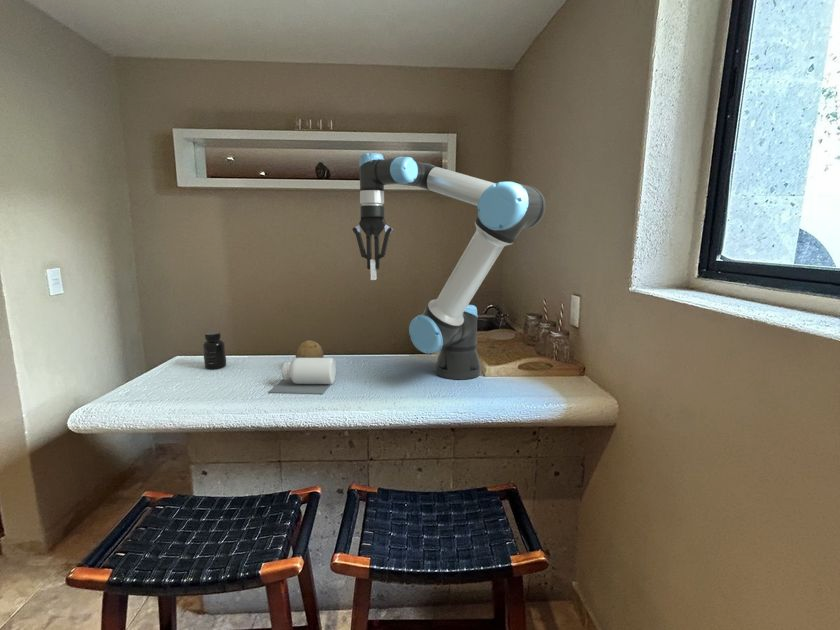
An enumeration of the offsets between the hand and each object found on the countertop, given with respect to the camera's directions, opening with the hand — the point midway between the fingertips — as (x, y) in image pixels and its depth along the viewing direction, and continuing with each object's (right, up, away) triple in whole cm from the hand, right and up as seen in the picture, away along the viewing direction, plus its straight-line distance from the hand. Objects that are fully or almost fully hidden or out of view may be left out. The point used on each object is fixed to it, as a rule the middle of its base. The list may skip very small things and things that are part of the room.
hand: (373, 279), depth 147 cm
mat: (-20, -33, -11) cm, 40 cm away
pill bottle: (-11, -29, -11) cm, 32 cm away
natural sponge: (-22, -30, +5) cm, 38 cm away
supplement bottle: (-55, -30, +8) cm, 63 cm away
